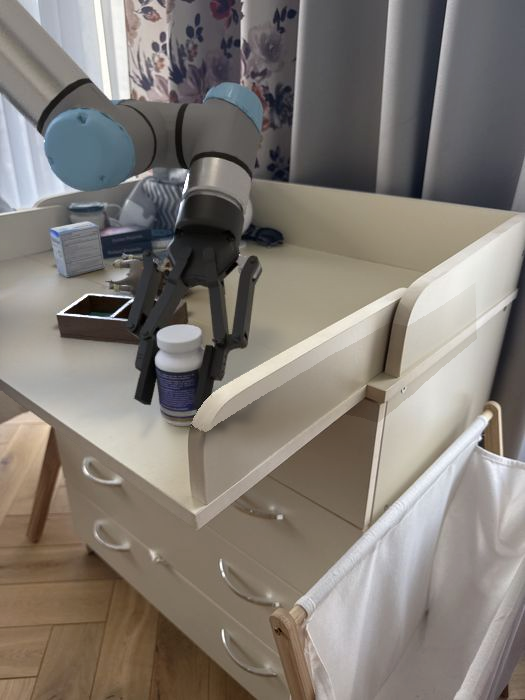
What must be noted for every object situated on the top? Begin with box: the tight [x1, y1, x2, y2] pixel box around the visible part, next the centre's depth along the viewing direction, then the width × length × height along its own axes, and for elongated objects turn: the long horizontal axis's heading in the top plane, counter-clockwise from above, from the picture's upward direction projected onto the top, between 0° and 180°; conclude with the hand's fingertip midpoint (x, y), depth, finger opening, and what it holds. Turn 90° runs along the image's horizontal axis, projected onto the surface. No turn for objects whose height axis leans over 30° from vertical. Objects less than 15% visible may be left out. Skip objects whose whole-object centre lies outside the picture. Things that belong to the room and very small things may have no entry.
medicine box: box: [49, 221, 106, 278], centre depth 103 cm, size 8×4×9 cm, turn 133°
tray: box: [55, 293, 189, 346], centre depth 80 cm, size 9×16×4 cm, turn 76°
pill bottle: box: [155, 324, 205, 427], centre depth 58 cm, size 6×6×10 cm
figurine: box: [104, 252, 196, 294], centre depth 94 cm, size 20×6×17 cm
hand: (171, 405), depth 56 cm, fingers closed on pill bottle, 6 cm apart
